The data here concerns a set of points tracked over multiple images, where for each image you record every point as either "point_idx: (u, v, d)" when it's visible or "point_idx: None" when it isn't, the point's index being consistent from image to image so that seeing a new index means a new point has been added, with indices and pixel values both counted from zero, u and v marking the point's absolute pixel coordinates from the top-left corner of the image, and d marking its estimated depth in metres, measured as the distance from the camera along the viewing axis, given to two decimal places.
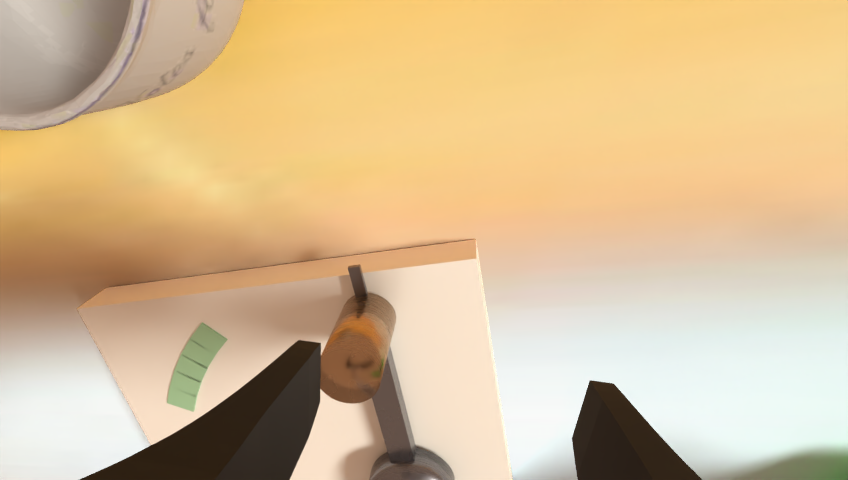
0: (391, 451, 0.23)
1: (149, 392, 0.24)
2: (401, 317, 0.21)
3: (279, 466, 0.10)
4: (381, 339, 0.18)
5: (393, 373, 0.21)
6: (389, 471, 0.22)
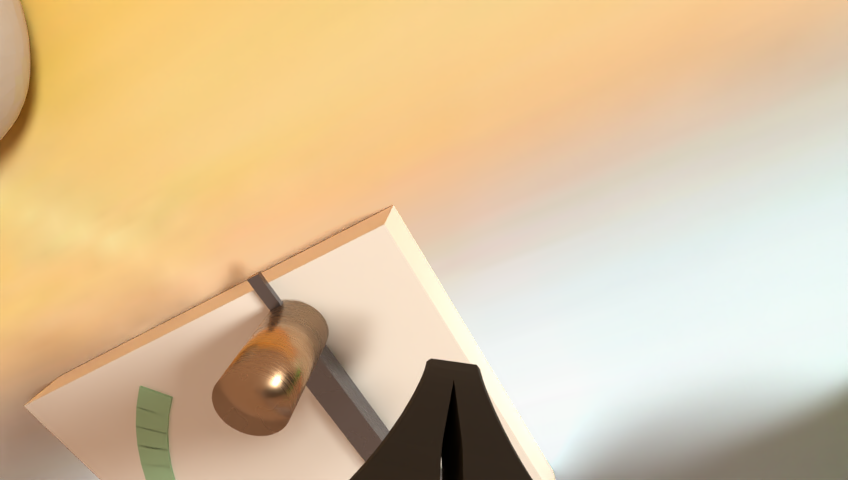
0: None
1: (126, 474, 0.22)
2: (334, 319, 0.18)
3: None
4: (289, 349, 0.15)
5: (346, 386, 0.18)
6: None
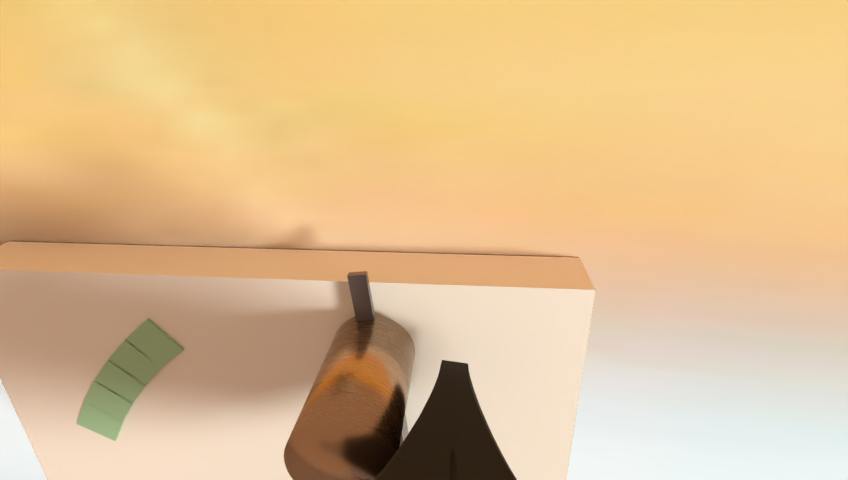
0: None
1: (52, 405, 0.16)
2: (456, 356, 0.14)
3: None
4: (397, 396, 0.11)
5: (404, 435, 0.14)
6: None
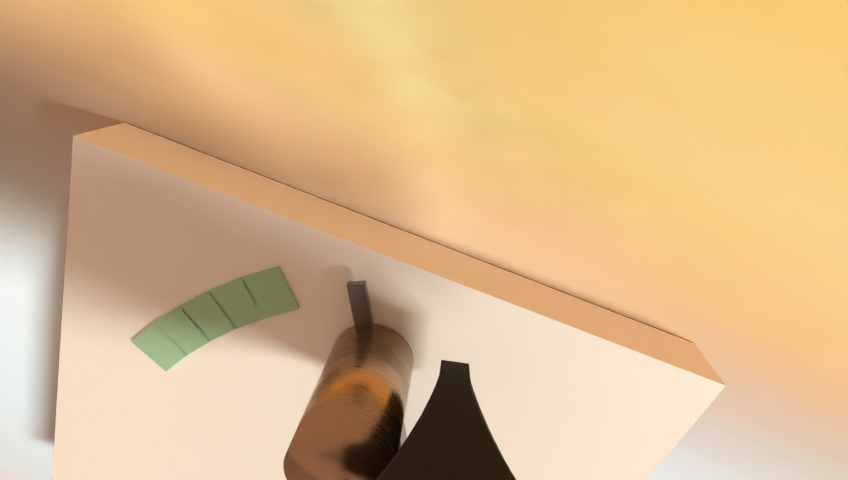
0: None
1: (111, 314, 0.14)
2: (568, 401, 0.14)
3: None
4: (395, 405, 0.11)
5: (403, 442, 0.14)
6: None
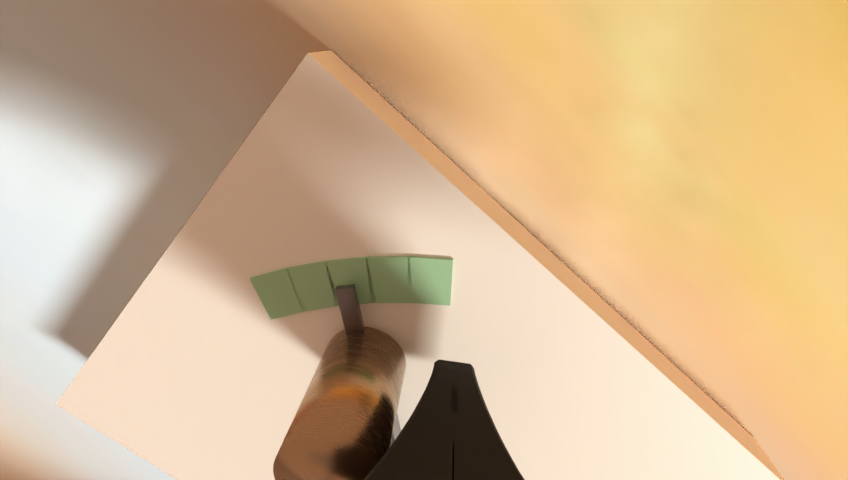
0: None
1: (241, 244, 0.13)
2: (651, 463, 0.15)
3: None
4: (384, 408, 0.11)
5: None
6: None
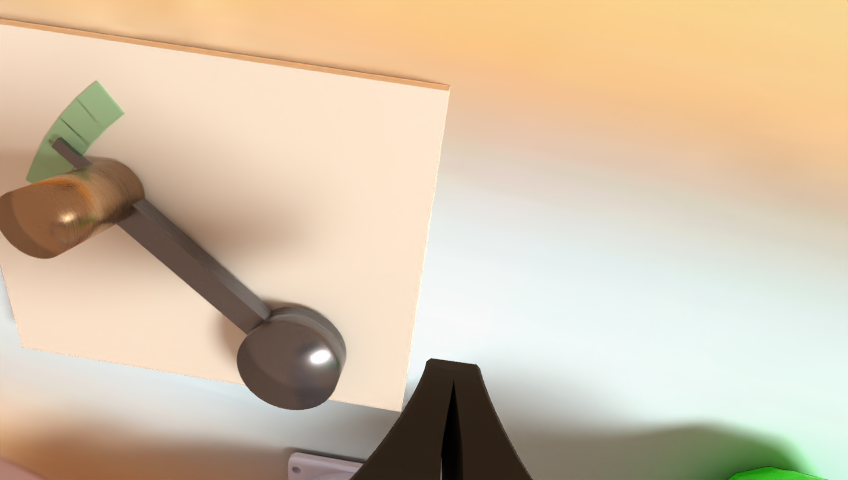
0: (237, 321, 0.20)
1: (6, 159, 0.19)
2: (342, 142, 0.18)
3: None
4: (71, 180, 0.16)
5: (170, 233, 0.19)
6: None
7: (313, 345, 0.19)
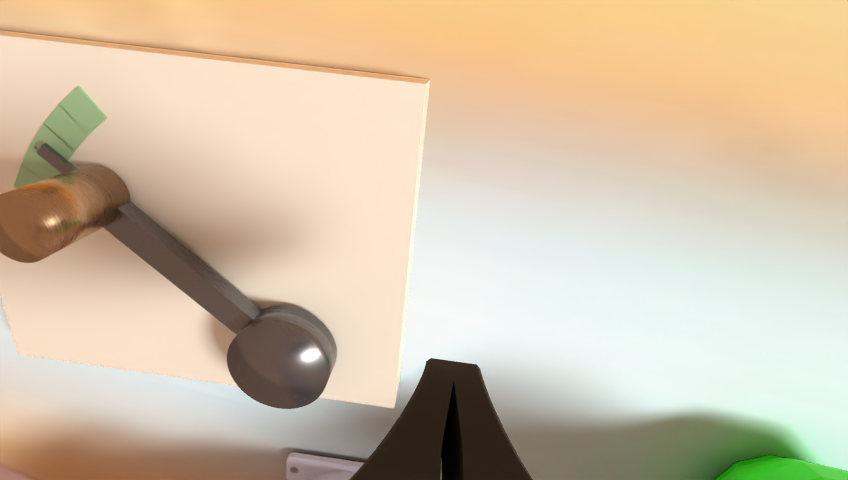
0: (226, 321, 0.20)
1: None
2: (322, 138, 0.18)
3: None
4: (54, 184, 0.16)
5: (157, 235, 0.19)
6: (232, 341, 0.20)
7: (302, 343, 0.19)
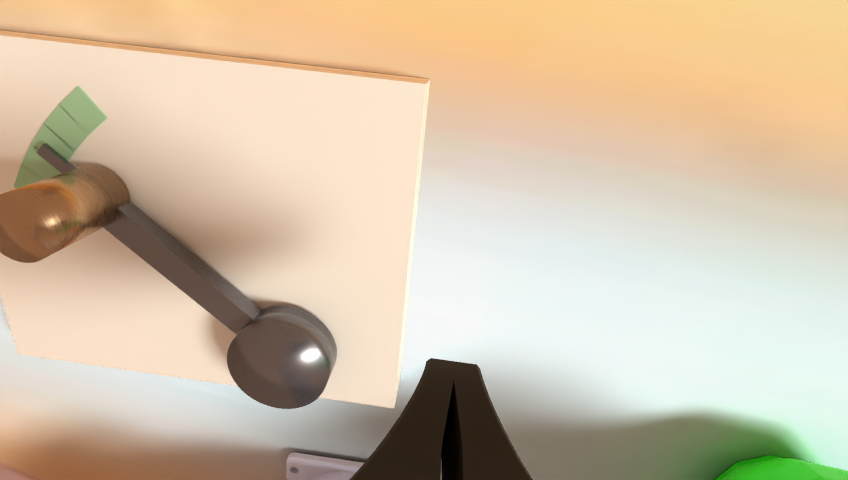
0: (226, 321, 0.20)
1: None
2: (322, 138, 0.18)
3: None
4: (54, 184, 0.16)
5: (157, 235, 0.19)
6: (232, 341, 0.20)
7: (302, 343, 0.19)
